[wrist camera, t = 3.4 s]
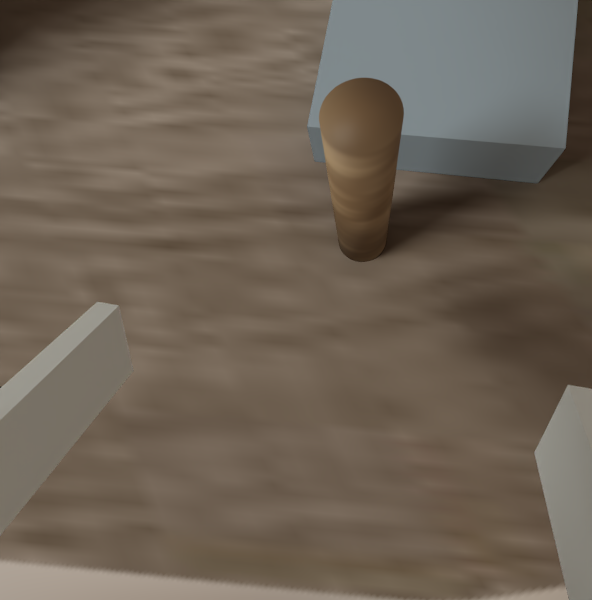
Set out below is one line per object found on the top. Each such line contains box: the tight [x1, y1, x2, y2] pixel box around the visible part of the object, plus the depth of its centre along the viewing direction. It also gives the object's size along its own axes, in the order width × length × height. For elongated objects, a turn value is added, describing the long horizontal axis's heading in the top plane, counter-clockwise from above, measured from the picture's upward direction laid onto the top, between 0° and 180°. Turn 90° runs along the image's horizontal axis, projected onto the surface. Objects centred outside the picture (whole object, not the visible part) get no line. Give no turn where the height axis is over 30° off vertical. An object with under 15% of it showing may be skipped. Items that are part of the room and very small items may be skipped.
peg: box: [319, 78, 404, 262], centre depth 22 cm, size 3×3×13 cm
